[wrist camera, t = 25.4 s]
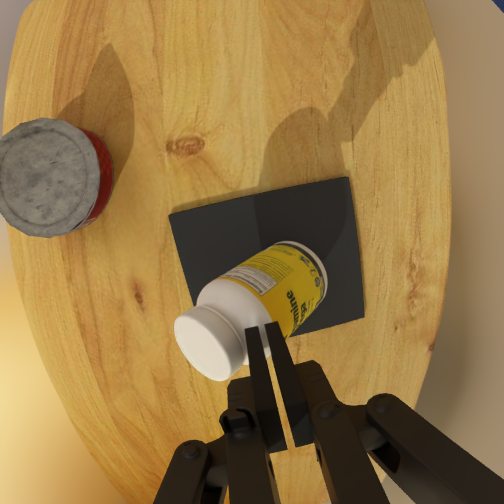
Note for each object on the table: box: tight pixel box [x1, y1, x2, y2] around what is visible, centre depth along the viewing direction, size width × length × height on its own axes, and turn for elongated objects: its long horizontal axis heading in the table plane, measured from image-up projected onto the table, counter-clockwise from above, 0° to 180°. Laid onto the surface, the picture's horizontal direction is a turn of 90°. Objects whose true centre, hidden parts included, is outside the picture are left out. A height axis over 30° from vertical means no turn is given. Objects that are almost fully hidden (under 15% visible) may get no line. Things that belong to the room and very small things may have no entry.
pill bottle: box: [174, 241, 328, 381], centre depth 20 cm, size 6×6×11 cm
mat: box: [168, 177, 364, 338], centre depth 27 cm, size 16×14×1 cm
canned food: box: [0, 118, 114, 238], centre depth 21 cm, size 11×10×10 cm
